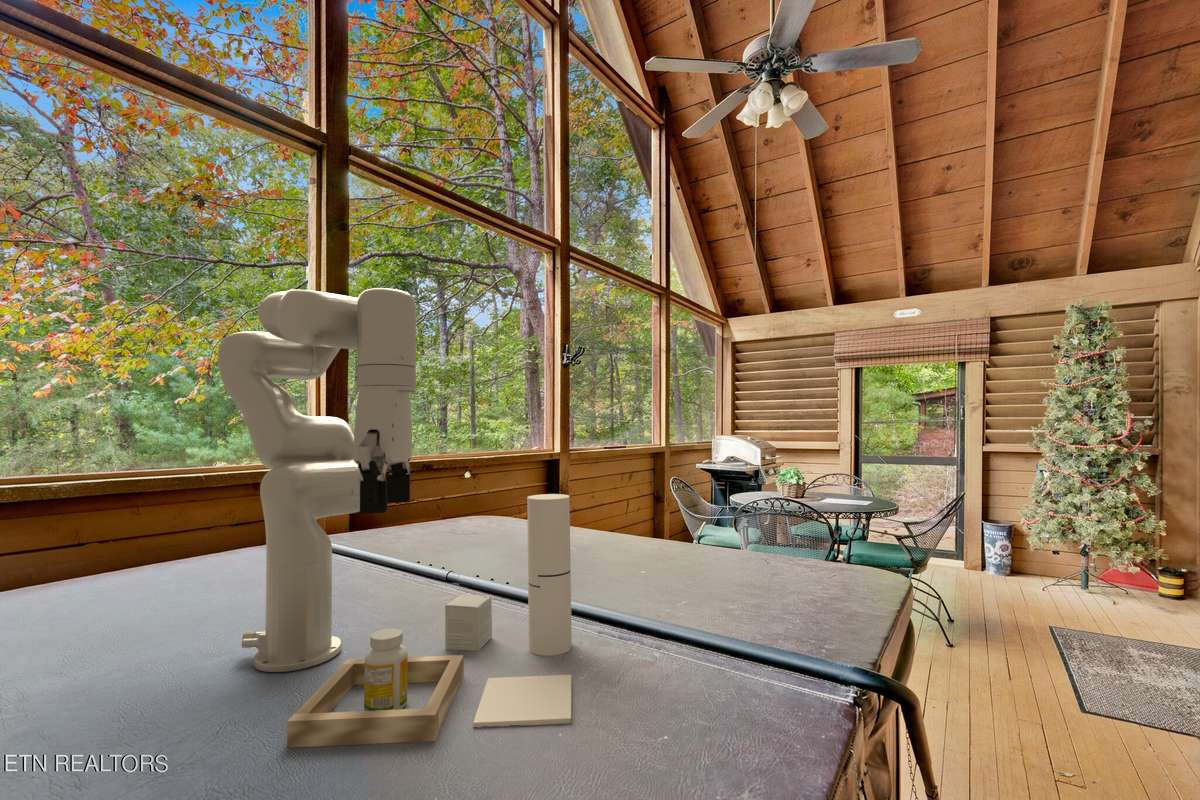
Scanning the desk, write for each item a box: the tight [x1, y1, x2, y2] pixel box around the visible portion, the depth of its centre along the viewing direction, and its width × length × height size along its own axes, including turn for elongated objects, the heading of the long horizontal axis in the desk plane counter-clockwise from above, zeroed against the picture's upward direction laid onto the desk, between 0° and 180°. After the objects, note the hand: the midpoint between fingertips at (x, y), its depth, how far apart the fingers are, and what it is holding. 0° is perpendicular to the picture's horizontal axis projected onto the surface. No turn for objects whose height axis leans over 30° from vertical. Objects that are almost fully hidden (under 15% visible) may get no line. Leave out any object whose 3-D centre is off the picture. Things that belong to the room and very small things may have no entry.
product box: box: [444, 594, 493, 652], centre depth 94 cm, size 6×6×7 cm
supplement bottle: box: [363, 627, 409, 711], centre depth 73 cm, size 5×5×10 cm
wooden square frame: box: [286, 654, 465, 749], centre depth 72 cm, size 17×17×3 cm
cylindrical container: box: [526, 493, 573, 657], centre depth 92 cm, size 7×7×25 cm
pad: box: [472, 674, 572, 728], centre depth 73 cm, size 12×12×1 cm
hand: (386, 507), depth 74 cm, fingers open, 9 cm apart
